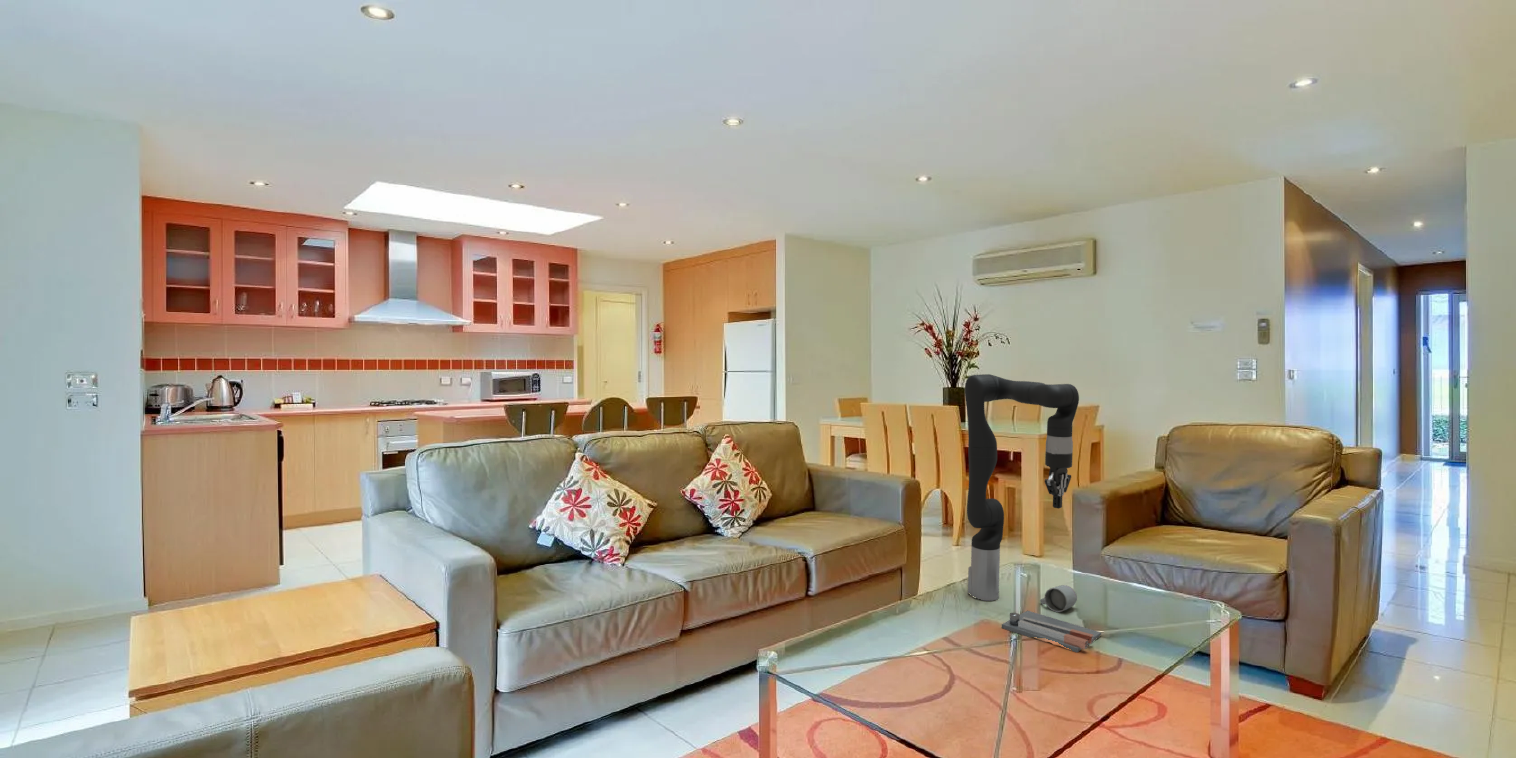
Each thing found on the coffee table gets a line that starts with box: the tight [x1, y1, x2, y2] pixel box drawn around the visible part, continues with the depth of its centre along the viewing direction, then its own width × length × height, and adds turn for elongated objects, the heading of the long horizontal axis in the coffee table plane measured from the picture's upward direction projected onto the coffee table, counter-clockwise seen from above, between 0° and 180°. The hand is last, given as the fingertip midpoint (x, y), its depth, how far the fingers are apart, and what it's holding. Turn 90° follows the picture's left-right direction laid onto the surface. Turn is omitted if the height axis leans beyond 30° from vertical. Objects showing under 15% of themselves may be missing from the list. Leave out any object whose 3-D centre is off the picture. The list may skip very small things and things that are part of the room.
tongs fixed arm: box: [1009, 612, 1089, 650], centre depth 217 cm, size 24×3×3 cm, turn 43°
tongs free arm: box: [1022, 617, 1094, 645], centre depth 218 cm, size 20×2×2 cm, turn 49°
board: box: [1001, 610, 1102, 653], centre depth 222 cm, size 23×16×1 cm
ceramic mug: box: [1039, 584, 1078, 613], centre depth 241 cm, size 11×8×8 cm
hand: (1057, 507), depth 222 cm, fingers closed
